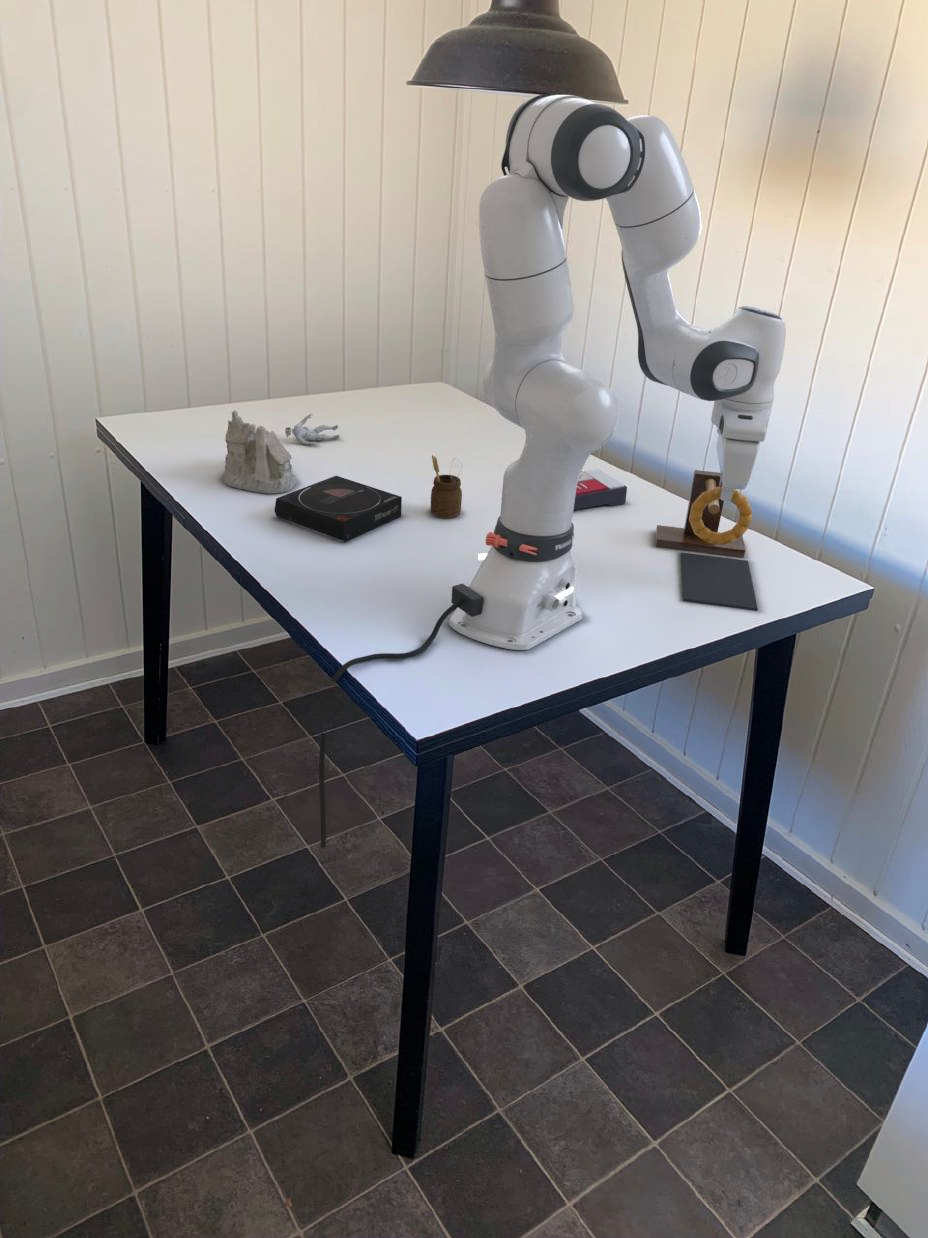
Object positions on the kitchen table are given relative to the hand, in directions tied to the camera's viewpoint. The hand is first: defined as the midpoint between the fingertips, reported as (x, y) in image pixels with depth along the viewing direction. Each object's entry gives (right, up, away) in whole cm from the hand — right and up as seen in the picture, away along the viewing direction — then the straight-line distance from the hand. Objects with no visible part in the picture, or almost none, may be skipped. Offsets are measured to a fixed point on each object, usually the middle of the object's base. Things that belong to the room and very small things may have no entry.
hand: (724, 495), depth 158 cm
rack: (0, -9, +17) cm, 19 cm away
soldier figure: (-77, +20, +60) cm, 100 cm away
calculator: (-19, +4, +38) cm, 43 cm away
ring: (0, -3, +2) cm, 4 cm away
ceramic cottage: (-84, +8, +38) cm, 92 cm away
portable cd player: (-67, -1, +22) cm, 70 cm away
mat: (+1, -14, +7) cm, 16 cm away
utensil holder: (-47, 0, +27) cm, 54 cm away
